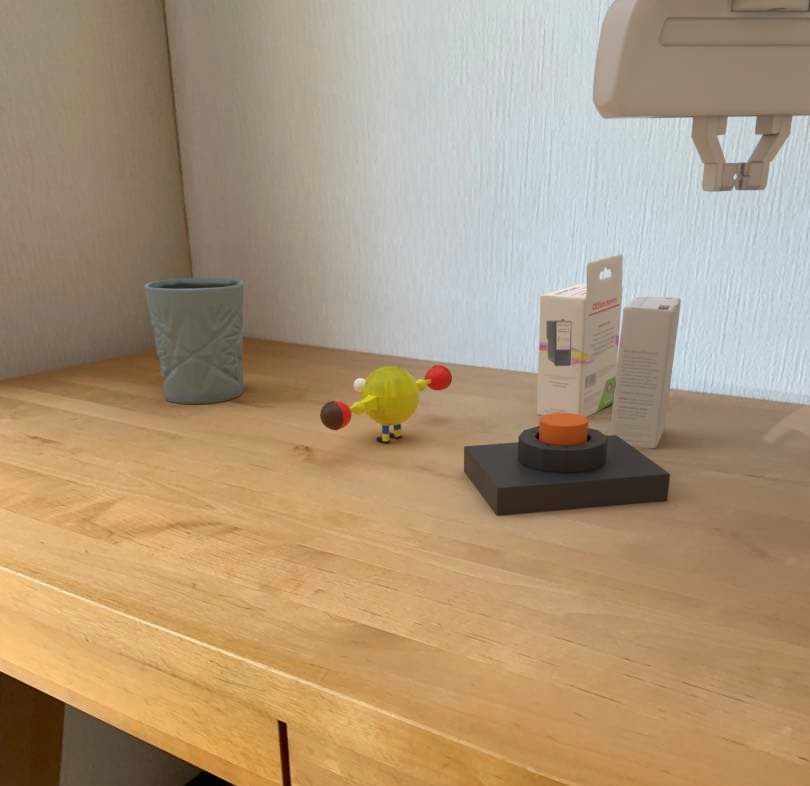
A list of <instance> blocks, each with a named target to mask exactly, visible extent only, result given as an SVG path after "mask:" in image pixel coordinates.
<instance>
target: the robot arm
mask: <svg viewBox="0 0 810 786" xmlns="http://www.w3.org/2000/svg"><path fill="white" fill-rule="evenodd" d="M592 102H593V105H594V106H595V108H596V110H597V112H598V113H599V115H600V116H601V118H602V119H603V120H612V119H613V120H617V119H618V120H619V119H620V120H621V119H622V120H623V119H624V120H625V119H676V118H678V119H680V118H681V119H683V118H685V119H686V118H692V124H691V134H690V138H691V139H692V142H693V145H694V146H695V149H696V151H697V153H698V156H699V158H700V161H701V162H702V164H703V171H702V182H701V188H702V190H703V192H708V193H709V192H710V193H712V192H713V193H714V192H731V191H732V190H733V189H735V190H736V191H764V190H765V189H766V188H767V185H768V179H769V172H770V164H771V163H772V162H773V160H774V159H775V158H776V156H777V155H778V153H779V151H781V148H782V147H783V146H784V144H785V142H786V141H787V140H788V138H789V137H790V135H791V130H792V123H793V117H801V116H808V117H809V116H810V0H614V1H613V2H612V3H611V4H610V5H609V7H608V8H607V11H606V12H605V15H604V18H603V20H602V24H601V28H600V33H599V38H598V43H597V50H596V57H595V65H594V73H593V85H592ZM728 117H729V118H737V117H740V118H742V117H743V118H744V117H747V118H748V117H750V118H751V117H756V118H755V128H754V134H755V135H758V136H761V137H760V139H759V141H758V142H757V144H756V146H755V147H754V149H753V151H752V153H751V155H749V158H748V160H747V161H745V162H744V161H743V162H727V161H726V158H725V156H724V151H723V149H722V146H721V143H720V140H719V137H718V136H725V134H726V132H727V125H728ZM735 175H736V177H735ZM734 177H735V178H734Z"/></svg>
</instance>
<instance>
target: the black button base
mask: <svg viewBox="0 0 810 786" xmlns="http://www.w3.org/2000/svg"><path fill="white" fill-rule="evenodd" d="M539 428H540V425H536V426H534V427H531V428H527V429H523V430H522V432H521V433H520V434H519V436H518V442H503V443H491V444H490V443H489V444H477V445H465V446H463V472H464V474H465V475H466V476H467V478H468V479H469V480H470V482H471V483H472V485H473V486H474V487H475V489H476V490H477V491H478V492H479V494H480V495H481V496H482V498H483V499H484V501H485V502H486V503H487V504H488V506H489V507H490V509H491V510H492V511H493V513H494V514H495V515H496V516H497V517H502V516H512V515H513V516H514V515H524V514H536V513H545V512H546V513H549V512H558V511H569V510H580V509H582V510H583V509H592V508H603V507H606V508H607V507H615V506H629V505H638V504H650V503H663V502H668V497H669V488H670V479H671V473H670V472H668V471H667V470H666V469H664V468H663V467H661V466H660V465H658V464H657V463H656V462H654V461H653V460H652V459H650V458H649V457H648V456H646V455H645V454H643V453H642V452H641V451H639V450H638V449H636V447H632V446H631V445H629V444H628V443H626V442H625V441H624V440H622V439H621V438H620V437H618V436H617V435H610V434H609V435H605V434H604V433H603V432H601V431H600V430H598V429H594V428H590V427H588V433H587V442H585V443H582V444H577V445H556V444H548V443H545V442H541V441H539Z"/></svg>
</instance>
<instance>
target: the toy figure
mask: <svg viewBox="0 0 810 786" xmlns="http://www.w3.org/2000/svg"><path fill="white" fill-rule="evenodd" d="M452 382H453V377H452V372H451V370H449V368H447V366H444V365H441V364H435V365H433V366H432V367H431V368H428V369H427V371H426V373H425V376H424V379H421V378H418V379H416V380H415V378H414V377H413V376H412V375H411V373H409V372H408V371H407V370H405V369H403V368H401V367H398V366H394V365H386V366H382V367H377V368H376V369H375V370H374V369H373V370H372V372H371V373H369V374H368V375H367V376H366V377H365V378H364V377H363V378H362V377H359V378H357V379H355V381H354V382H353V389H354V391H355V392H357V393H360V397H359V398H360V400H358V401H355V402H353V403H352V404H351V406H349V405H348V404H347V403H345V402H343V401H340V400H330V401H328V402H325V404H324V405H323V406H322V408H321V409H320V412H319V413H320V414H319V417H320V421H321V423H322V424H323V426H324V427H326V428H327V429H329V430H331V431H339V430H342V429H343V428H346V427H347V426H348V425H349V424H350V422H351V420H352V416H353V415H352V414H355V415H358V416H359V415H363V414H364V413H365V414H366V415H367V416H368V418H370V420H372V421H374V422H375V423H377V424H379V425H381V436H377V437H376V438H375V440H376V441H377V442H379V443H381V444H384V445H389V444H390V443H391V439H394V440H398V439H399V440H400V439H402V438H403V434H402V424H403V423H405V422H406V421H408V420H409V419H410V418H411V417H413V415H414V414H415V412H416V410H417V409H418V405H419V403H420V392H424V391H426V390H427V388H429V389H431V390H432V391H443V390H446V389H448V388H449V387H450V386H451V384H452ZM391 426H393V432H391V431H390V427H391Z"/></svg>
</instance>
